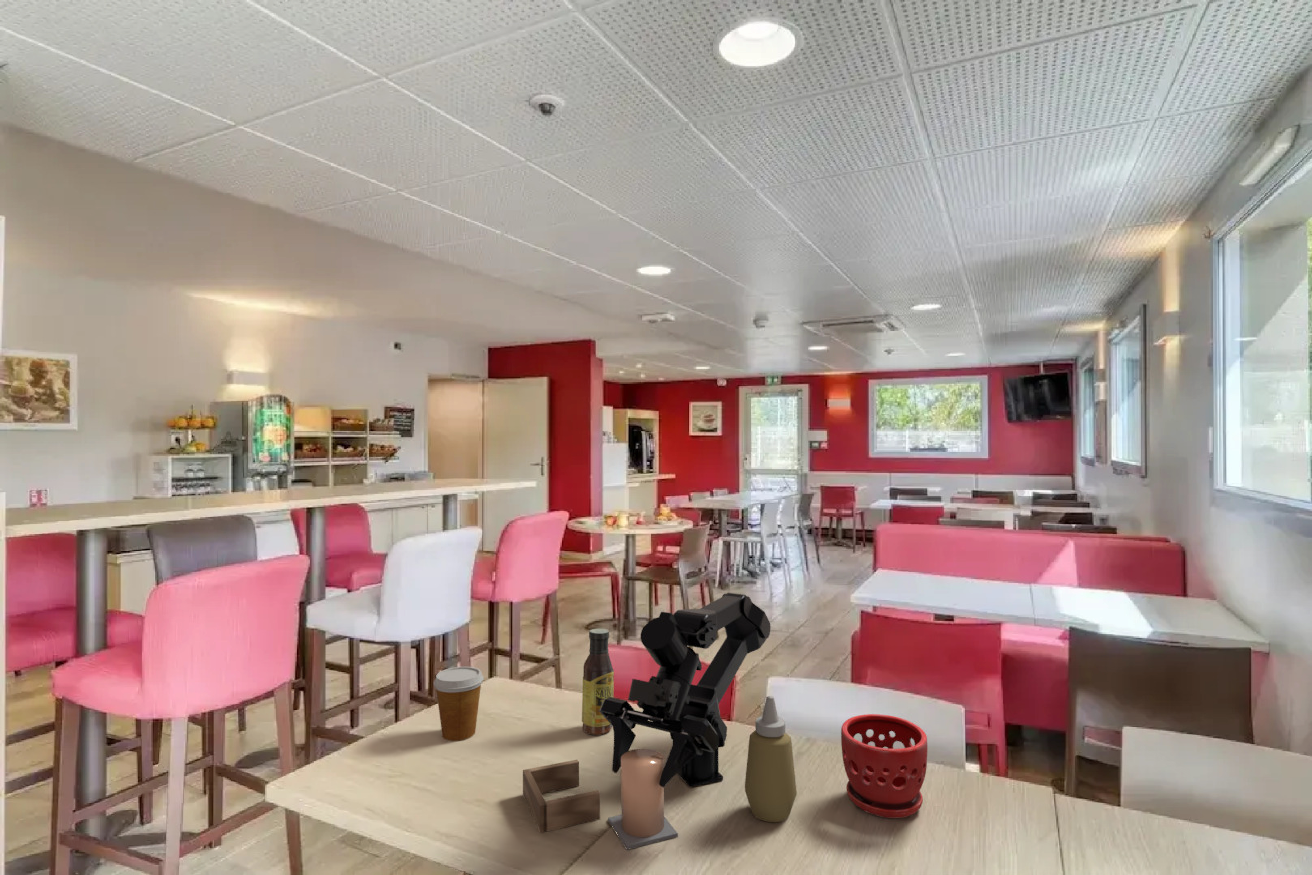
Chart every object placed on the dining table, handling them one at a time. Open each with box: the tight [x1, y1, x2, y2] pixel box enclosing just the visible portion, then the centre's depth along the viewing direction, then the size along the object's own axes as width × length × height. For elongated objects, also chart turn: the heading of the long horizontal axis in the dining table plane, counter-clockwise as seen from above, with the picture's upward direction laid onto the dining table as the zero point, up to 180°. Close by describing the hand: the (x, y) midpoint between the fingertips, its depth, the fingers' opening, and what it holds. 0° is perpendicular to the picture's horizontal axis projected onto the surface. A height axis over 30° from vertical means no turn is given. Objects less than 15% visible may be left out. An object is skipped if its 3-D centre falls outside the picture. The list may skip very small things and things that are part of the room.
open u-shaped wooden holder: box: [522, 759, 601, 834], centre depth 109 cm, size 9×12×4 cm
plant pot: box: [840, 713, 928, 819], centre depth 109 cm, size 13×13×12 cm
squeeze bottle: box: [744, 695, 798, 823], centre depth 107 cm, size 8×8×18 cm
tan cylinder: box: [620, 748, 665, 837], centre depth 103 cm, size 8×6×10 cm
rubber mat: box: [607, 814, 679, 850], centre depth 102 cm, size 8×8×1 cm
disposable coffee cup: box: [433, 666, 484, 742], centre depth 135 cm, size 10×10×12 cm
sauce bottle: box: [581, 628, 615, 736], centre depth 137 cm, size 7×6×20 cm
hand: (637, 778), depth 101 cm, fingers open, 8 cm apart
